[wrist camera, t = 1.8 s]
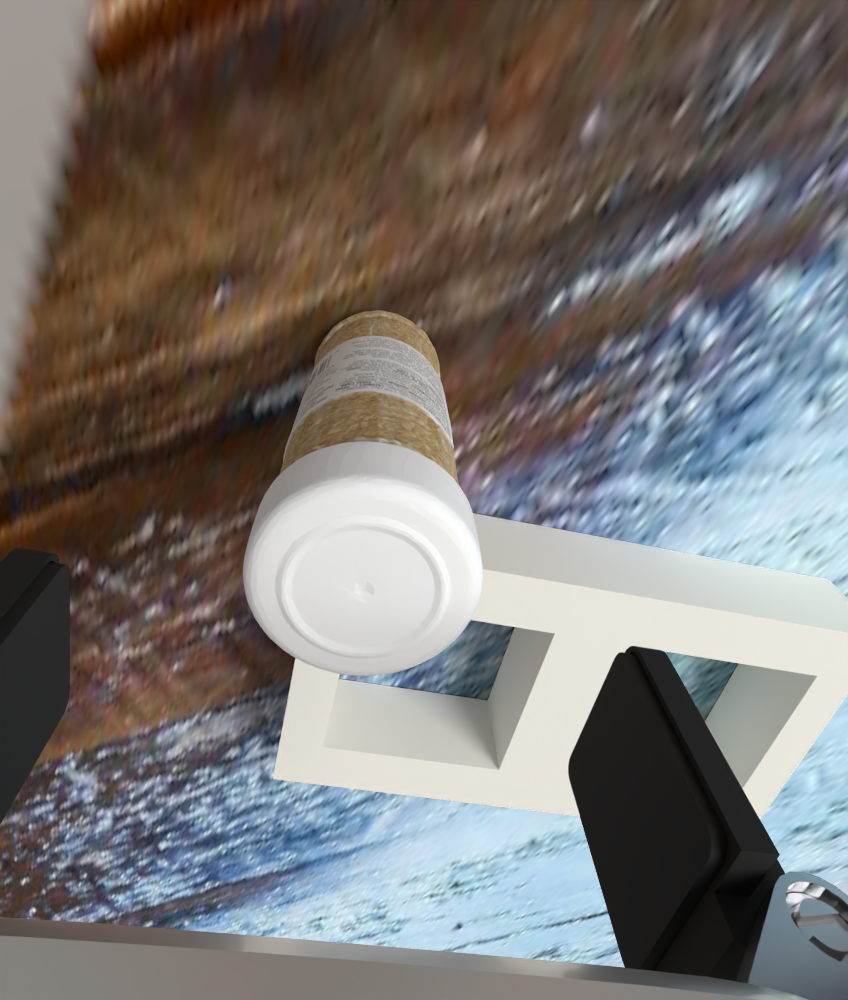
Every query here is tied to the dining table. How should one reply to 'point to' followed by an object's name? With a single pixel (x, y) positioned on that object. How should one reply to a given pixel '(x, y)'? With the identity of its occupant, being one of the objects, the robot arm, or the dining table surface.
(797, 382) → the dining table surface
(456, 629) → the sprinkles bottle
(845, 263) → the dining table surface
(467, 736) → the condiment rack
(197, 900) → the dining table surface
